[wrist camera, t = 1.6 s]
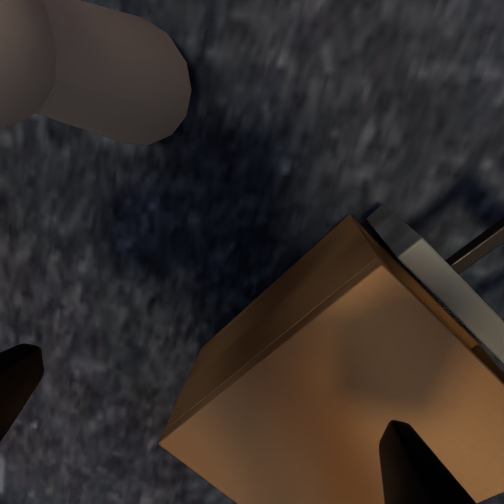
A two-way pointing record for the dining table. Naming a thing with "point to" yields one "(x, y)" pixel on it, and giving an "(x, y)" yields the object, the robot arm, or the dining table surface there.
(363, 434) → the cabinet
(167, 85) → the salt shaker
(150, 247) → the dining table surface
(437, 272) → the pull-out drawer
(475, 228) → the dining table surface
